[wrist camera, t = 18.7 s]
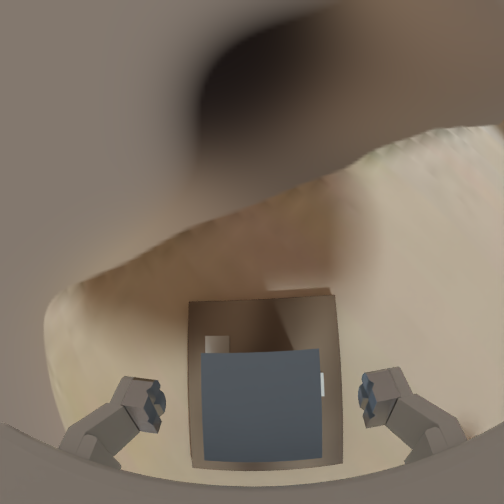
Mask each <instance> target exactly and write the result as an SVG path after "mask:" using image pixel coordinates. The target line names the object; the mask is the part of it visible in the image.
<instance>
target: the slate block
mask: <svg viewBox="0 0 504 504" xmlns="http://www.w3.org/2000/svg"><path fill="white" fill-rule="evenodd" d="M201 395H202V424H203V445H204V460H205V461H221V462H279V461H295V460H306V459H316V458H322V399H321V374H320V356H319V348H318V349H306V350H293V351H276V352H253V353H201Z"/></svg>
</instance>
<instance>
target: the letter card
mask: <svg viewBox="0 0 504 504" xmlns="http://www.w3.org/2000/svg"><path fill="white" fill-rule="evenodd" d="M318 348H319V356H320V374H321V399H322V458H316V459H306V460H295V461H279V462H221V461H205V460H204V445H203V424H202V395H201V353H253V352H276V351H293V350H306V349H318ZM188 379H189V415H190V437H191V453H192V467H193V468H200V469H212V470H231V471H271V470H290V469H303V468H312V467H321V466H328V465H335V464H341V463H343V407H342V380H341V362H340V347H339V334H338V323H337V312H336V302H335V295H324V296H310V297H295V298H278V299H259V300H236V301H204V302H189V326H188Z"/></svg>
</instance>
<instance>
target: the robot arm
mask: <svg viewBox="0 0 504 504" xmlns="http://www.w3.org/2000/svg"><path fill="white" fill-rule="evenodd" d="M362 382H363V384H362V385H361V386H360V387H359V391H358V400H359V405H360V408H362V409H363V410H364V413H363V419H364V422H365V426H366V428H371V427H376V426H381V425H385V426H386V427H388V428H389V429H390V430H391V431H392V432H393V433H394V434H395V435H397V436H398V437H399V438H400V439H401V440H402V441H403V442H404V443H406V444H407V445H408V446H409V447H410V448H411V449H412V451H411V453H410V454H409V455H408V457H407V458H406V459H405V461H404V462H405V465H401V466H398V467H394V468H391V469H387V470H383V471H379V472H375V473H371V474H366V475H362V476H357V477H352V478H346V479H340V480H334V481H327V482H320V483H311V484H301V485H289V486H266V487H241V486H219V485H206V484H196V483H188V482H180V481H173V480H167V479H161V478H156V477H151V476H146V475H141V474H137V473H132V472H128V471H124V470H120V469H121V465H120V463H119V462H118V461H117V460H116V459H115V458H114V457H113V456H115V455H116V454H117V453H118V452H119V451H120V450H121V449H122V448H123V447H124V446H125V445H127V444H128V443H129V442H130V441H131V440H132V439H133V438H134V437H135V436H136V435H137V434H138V433H139V431H142V432H150V433H158V432H159V428H160V425H161V422H162V421H161V419H160V416H161V415H162V414H164V412H165V408H166V399H165V395H164V393H163V392H162V391H160V390H159V389H160V384H159V382H158V380H151V379H143V378H136V377H128V376H124V377H123V378H122V379H121V381H120V383H119V385H118V387H117V389H116V391H115V393H114V395H113V397H112V399H111V401H110V403H106V404H104V405H103V406H101V407H100V408H98V409H96V410H95V411H93V412H92V413H90V414H89V415H87V416H86V417H84V418H83V419H81V420H80V421H78V422H76V423H75V424H73V425H72V426H70V427H69V428H68V430H67V432H66V434H65V436H64V438H63V440H62V442H61V444H60V446H59V448H55V447H53V446H51V445H48V444H46V443H44V442H42V441H40V440H38V439H35V438H33V437H31V436H29V435H27V434H25V433H23V432H21V431H20V430H18V429H16V428H14V427H12V426H10V425H8V424H6V423H0V504H504V422H502V423H500V424H499V425H497V426H495V427H493V428H491V429H489V430H488V431H486V432H484V433H482V434H480V435H478V436H476V437H474V438H472V439H469V440H467V439H466V436H465V434H464V432H463V430H462V428H461V426H460V424H459V422H458V420H457V418H456V417H454V416H452V415H451V414H449V413H447V412H446V411H444V410H442V409H441V408H439V407H437V406H436V405H434V404H432V403H431V402H429V401H427V400H426V399H424V398H423V397H421V396H419V395H418V394H413V393H412V391H411V389H410V387H409V384H408V382H407V380H406V378H405V376H404V374H403V372H402V370H401V368H400V367H393V368H388V369H382V370H377V371H371V372H365V373H364V374H363V376H362Z"/></svg>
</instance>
